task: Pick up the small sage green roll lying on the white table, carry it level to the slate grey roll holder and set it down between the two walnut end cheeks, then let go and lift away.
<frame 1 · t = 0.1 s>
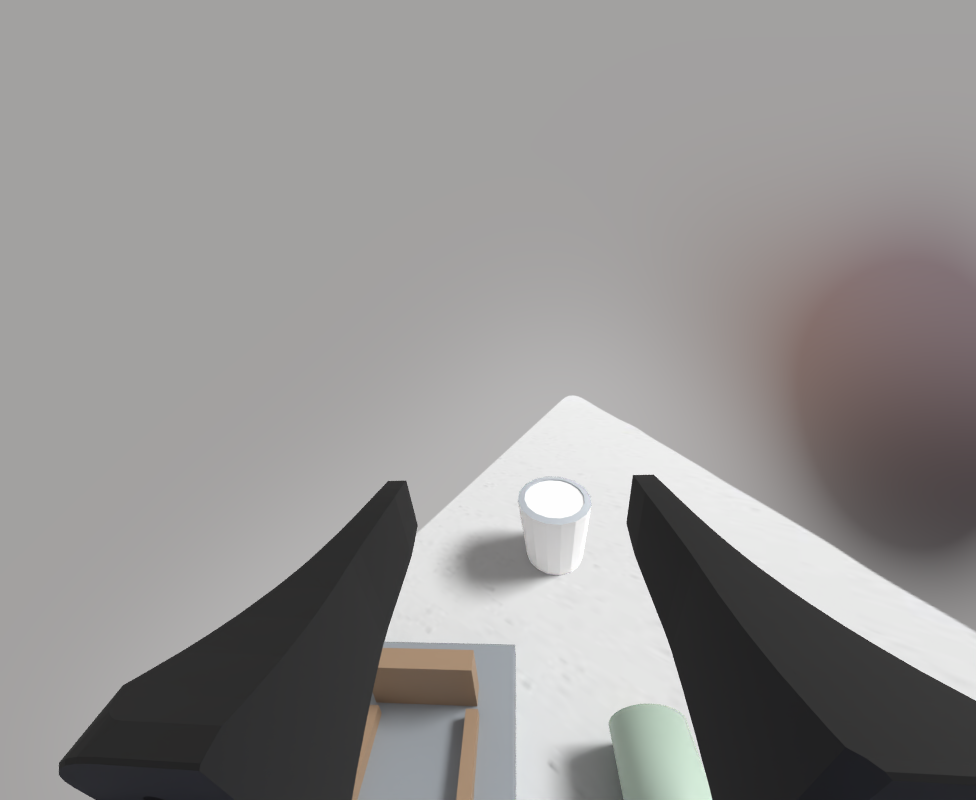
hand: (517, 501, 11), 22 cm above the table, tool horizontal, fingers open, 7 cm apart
white cup: (554, 553, 36), on the table
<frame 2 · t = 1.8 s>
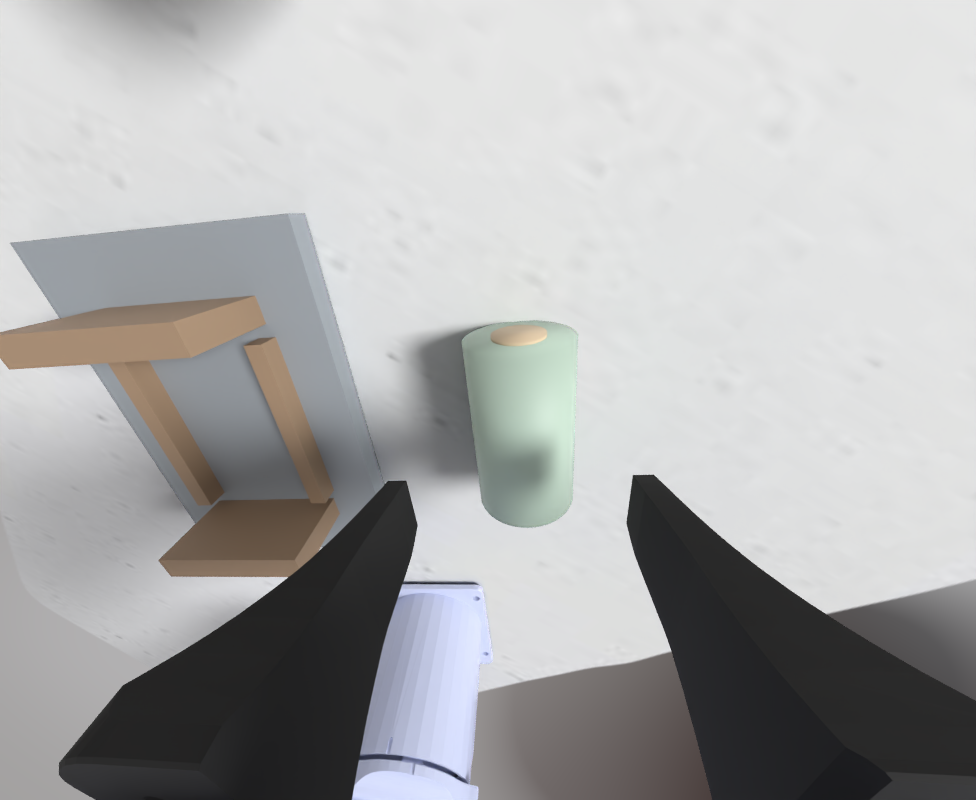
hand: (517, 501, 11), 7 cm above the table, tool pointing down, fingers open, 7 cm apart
roll: (515, 400, 18), on the table, tilted 8°
holder: (254, 413, 19), on the table
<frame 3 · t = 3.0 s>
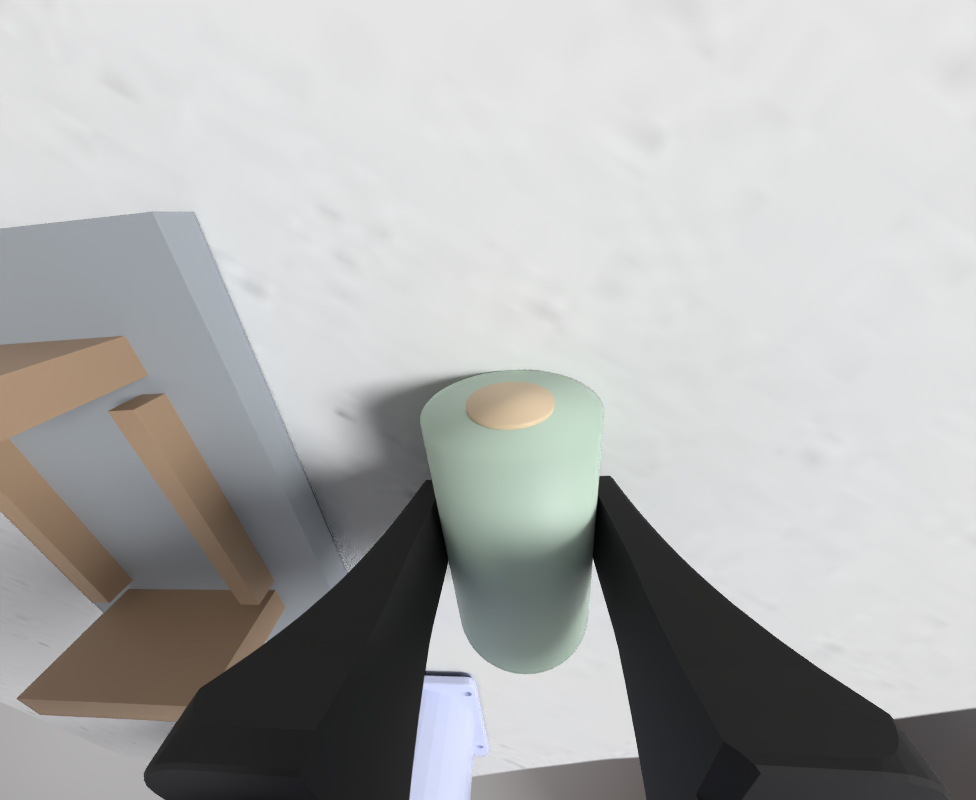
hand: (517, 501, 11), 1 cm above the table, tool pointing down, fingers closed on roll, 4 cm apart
roll: (517, 472, 13), on the table, touching gripper
holder: (164, 482, 14), on the table
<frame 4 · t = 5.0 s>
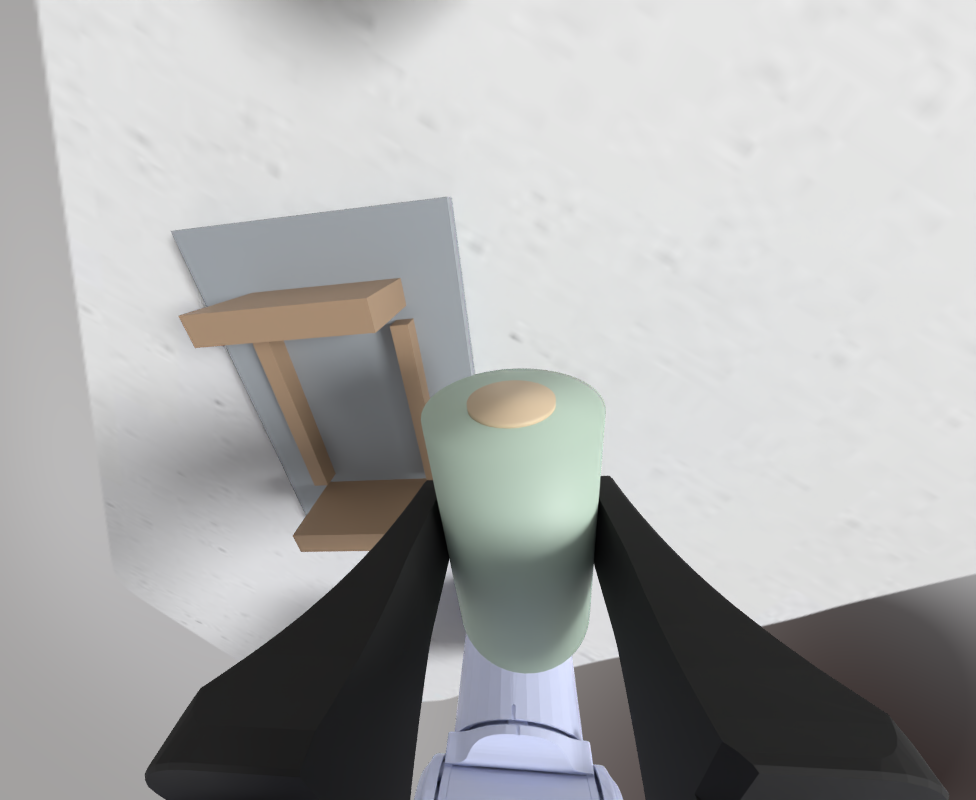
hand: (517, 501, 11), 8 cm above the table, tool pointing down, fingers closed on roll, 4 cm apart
roll: (519, 471, 13), point 7 cm above the table, touching gripper
holder: (370, 396, 20), on the table
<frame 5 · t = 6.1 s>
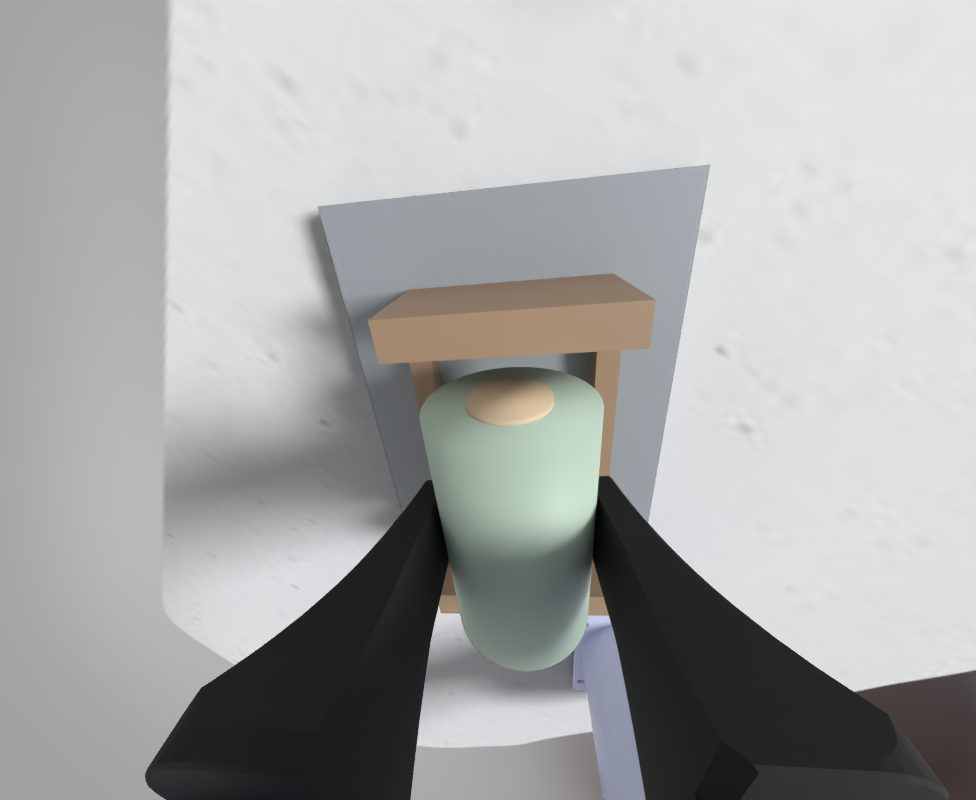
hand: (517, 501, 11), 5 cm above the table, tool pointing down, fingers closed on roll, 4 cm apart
roll: (519, 469, 13), point 4 cm above the table, touching gripper
holder: (517, 418, 16), on the table
when the fingers open (3 cm above the table, at t = 6.9 s): roll stays where it is, resting on holder.
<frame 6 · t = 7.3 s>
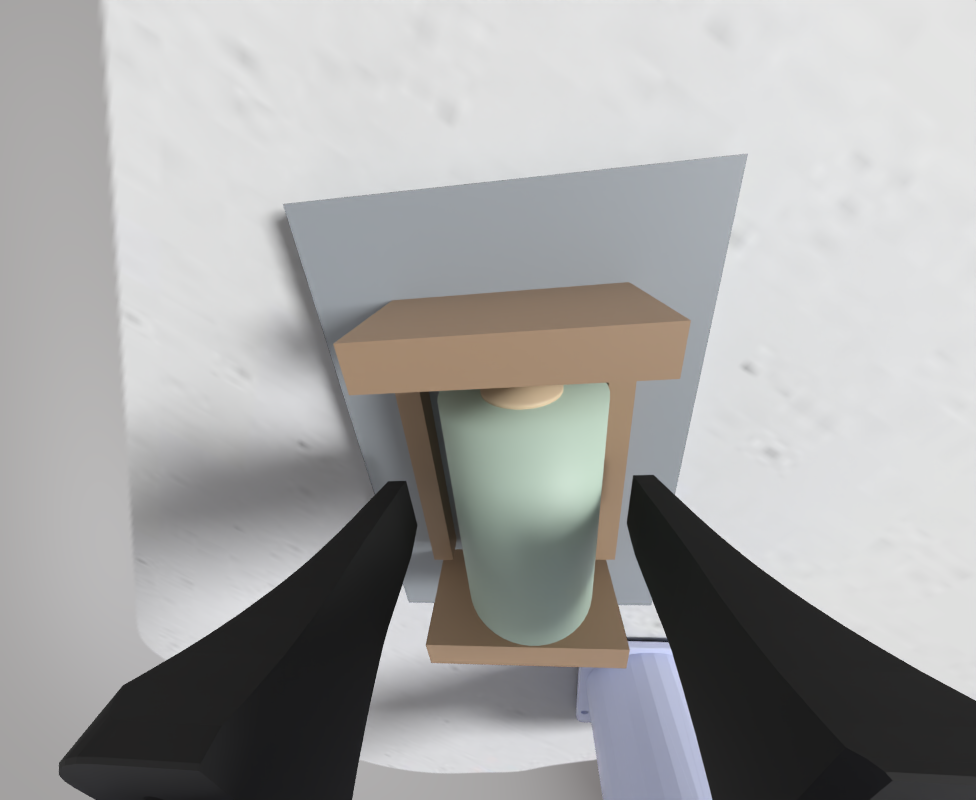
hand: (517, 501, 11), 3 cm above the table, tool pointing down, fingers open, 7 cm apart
roll: (518, 457, 13), point 1 cm above the table, tilted 6°, touching holder
holder: (516, 440, 14), on the table
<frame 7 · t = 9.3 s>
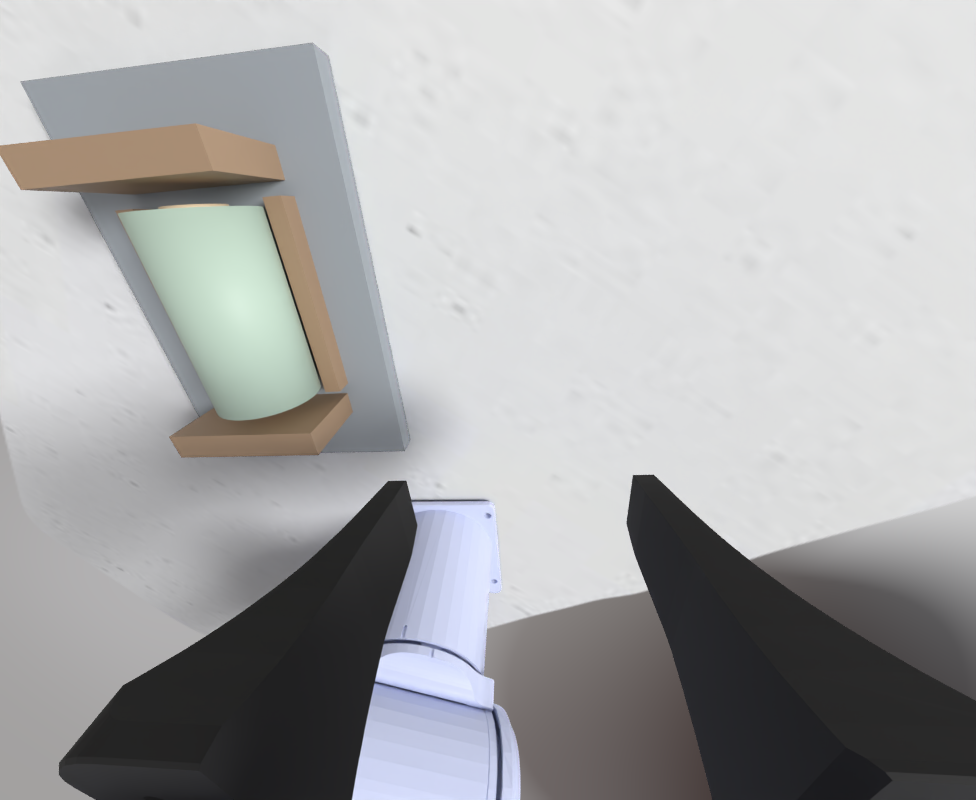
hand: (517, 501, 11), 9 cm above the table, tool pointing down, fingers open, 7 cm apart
roll: (252, 304, 17), point 1 cm above the table, tilted 22°, touching holder
holder: (268, 300, 18), on the table
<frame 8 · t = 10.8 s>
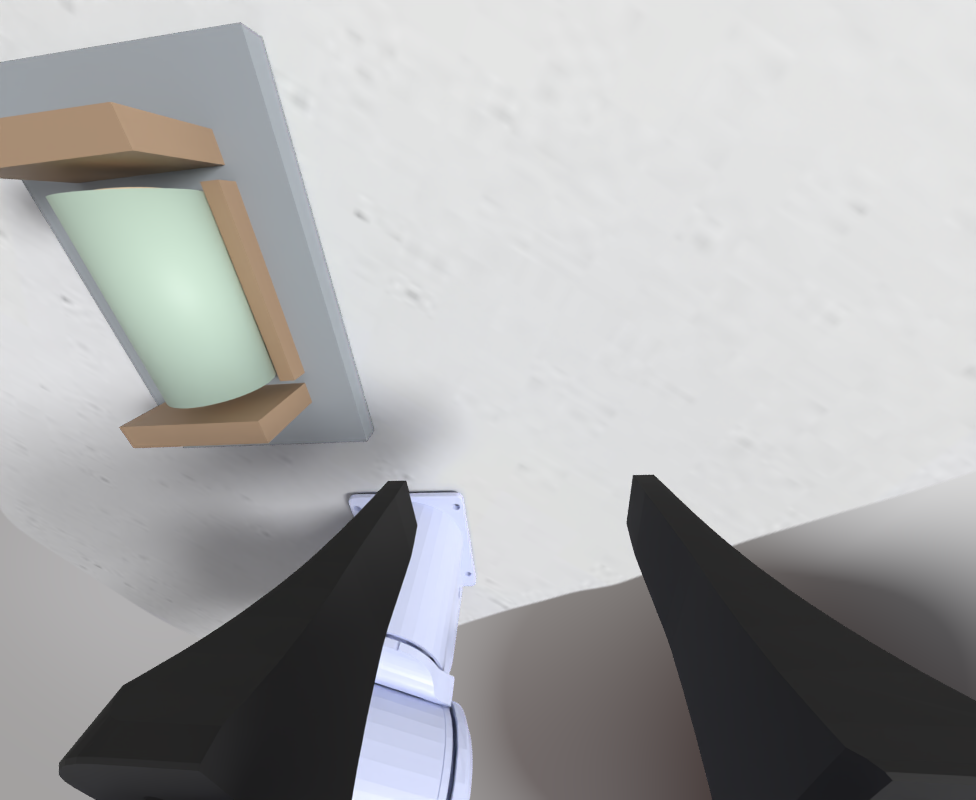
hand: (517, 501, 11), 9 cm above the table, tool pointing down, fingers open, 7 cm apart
roll: (202, 293, 17), point 1 cm above the table, tilted 24°, touching holder
holder: (222, 289, 18), on the table
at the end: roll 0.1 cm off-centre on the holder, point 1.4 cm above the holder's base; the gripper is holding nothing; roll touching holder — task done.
